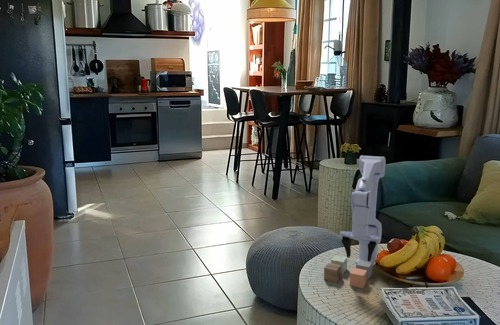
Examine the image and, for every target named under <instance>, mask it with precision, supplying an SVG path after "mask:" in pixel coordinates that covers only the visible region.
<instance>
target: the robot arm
mask: <svg viewBox="0 0 500 325" xmlns="http://www.w3.org/2000/svg"><path fill="white" fill-rule="evenodd" d="M386 161H387V160H386V157H385V156H376V155H375V156H373V155H363V154H362V155H360V156H359V159H358V170H359V172H360V174H361V177H360V178H359V179H358V180H357V183H356V187H355V190H354V191H352V192H351V196H350V204H351V206H350V207H351V214H352V215H351V217H352V218H351V231H343V230H340V232H339V238H341V243H342V245H343V247H344V250H345V253H346V257H347V259H349V258H350V257H351V255H352V254H351V252H352V250H351V248H352V246H351V245H352V240H354V241H357V242H358V258H357V259H356V261H355V263H356V264H357V263H358V261H359V260H364V261H369V262H372V267H375V266H374V261H375V259H376V257H377V255H378V256H379V244H380V243H381V240H382V231H383V230H382V222H380V221H379V220H378V219H377V218H376V213H377V212H376V211H377V202H378V201H377V199H378V198H377V197H378V186H379V182H380V178H381V179H382V178H383V177H385V173H386Z"/></svg>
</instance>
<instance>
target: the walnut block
mask: <svg viewBox="0 0 500 325" xmlns="http://www.w3.org/2000/svg"><path fill="white" fill-rule="evenodd" d="M341 278H342V274H341V265H337V264H332V263H331V262H328V263H327V264H326V265H325V266H324V268H323V280H324V281H328V282H333V283H338V282H339V280H341Z"/></svg>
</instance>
